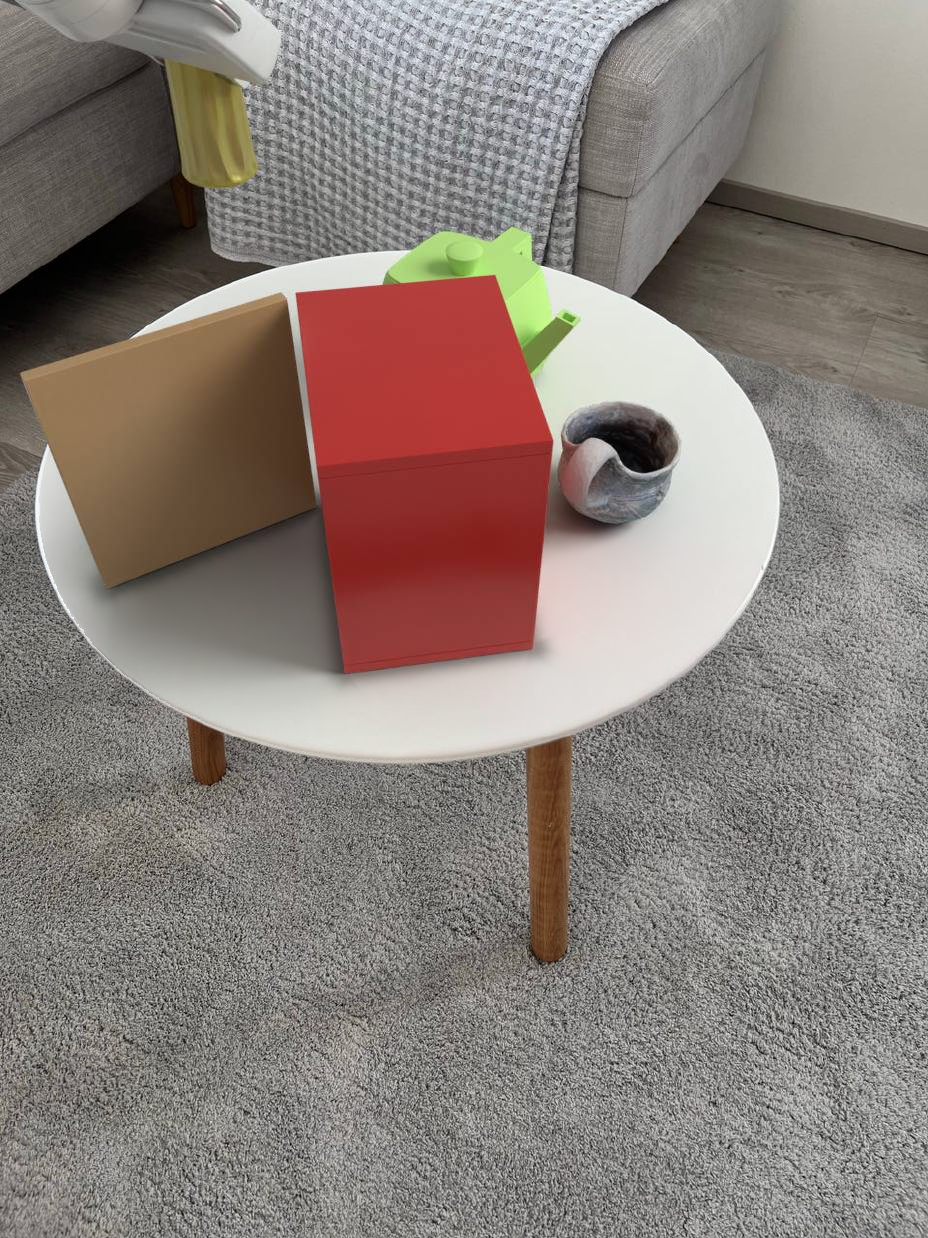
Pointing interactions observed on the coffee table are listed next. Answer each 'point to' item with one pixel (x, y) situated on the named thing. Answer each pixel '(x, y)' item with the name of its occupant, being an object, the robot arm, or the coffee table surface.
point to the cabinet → (426, 469)
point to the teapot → (515, 278)
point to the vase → (210, 127)
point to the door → (179, 436)
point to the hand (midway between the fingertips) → (207, 66)
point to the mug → (617, 460)
